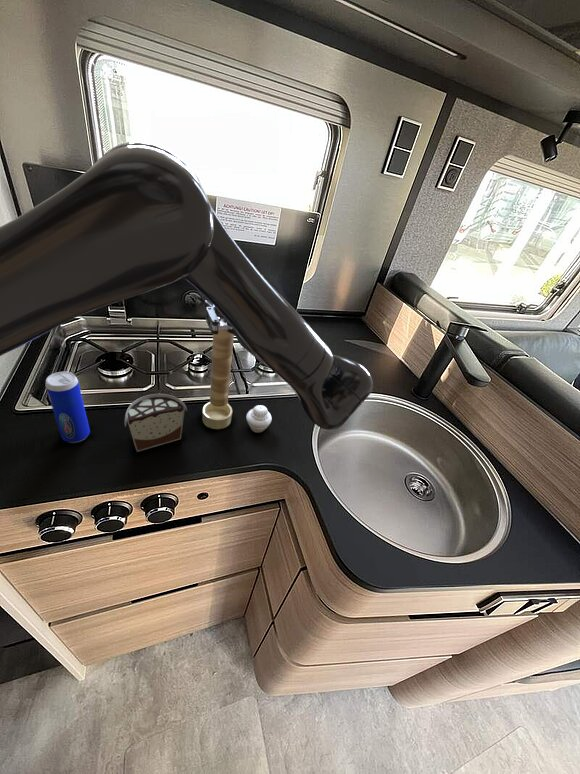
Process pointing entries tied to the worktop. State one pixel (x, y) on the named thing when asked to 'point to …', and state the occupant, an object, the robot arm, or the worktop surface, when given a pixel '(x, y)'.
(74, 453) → the worktop surface
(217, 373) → the post
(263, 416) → the white lidded jar
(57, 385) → the beverage can
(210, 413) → the socket
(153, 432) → the iced muffin
